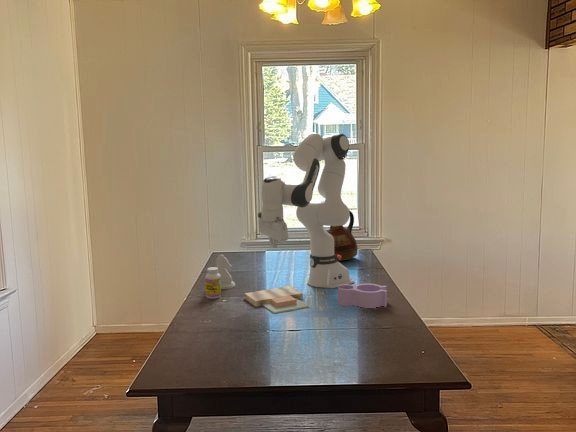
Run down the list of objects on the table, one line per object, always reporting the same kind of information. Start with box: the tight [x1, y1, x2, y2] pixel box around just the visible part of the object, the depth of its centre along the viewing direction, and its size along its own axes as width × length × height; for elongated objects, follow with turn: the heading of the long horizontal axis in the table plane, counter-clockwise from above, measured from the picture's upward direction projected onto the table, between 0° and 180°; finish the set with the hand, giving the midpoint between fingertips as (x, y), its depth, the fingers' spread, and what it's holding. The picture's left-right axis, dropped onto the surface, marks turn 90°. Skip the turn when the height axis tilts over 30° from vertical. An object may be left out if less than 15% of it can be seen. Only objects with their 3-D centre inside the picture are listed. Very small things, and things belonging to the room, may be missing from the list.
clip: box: [337, 283, 388, 309], centre depth 211 cm, size 20×12×7 cm, turn 81°
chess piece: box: [215, 254, 236, 290], centre depth 237 cm, size 10×10×15 cm
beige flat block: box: [244, 285, 304, 308], centre depth 219 cm, size 22×12×2 cm, turn 117°
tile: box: [271, 296, 297, 308], centre depth 210 cm, size 9×6×2 cm, turn 116°
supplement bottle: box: [205, 266, 222, 300], centre depth 221 cm, size 7×7×13 cm
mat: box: [262, 298, 310, 314], centre depth 209 cm, size 16×11×1 cm
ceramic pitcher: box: [326, 209, 358, 262], centre depth 283 cm, size 20×20×30 cm
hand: (273, 247), depth 215 cm, fingers closed
